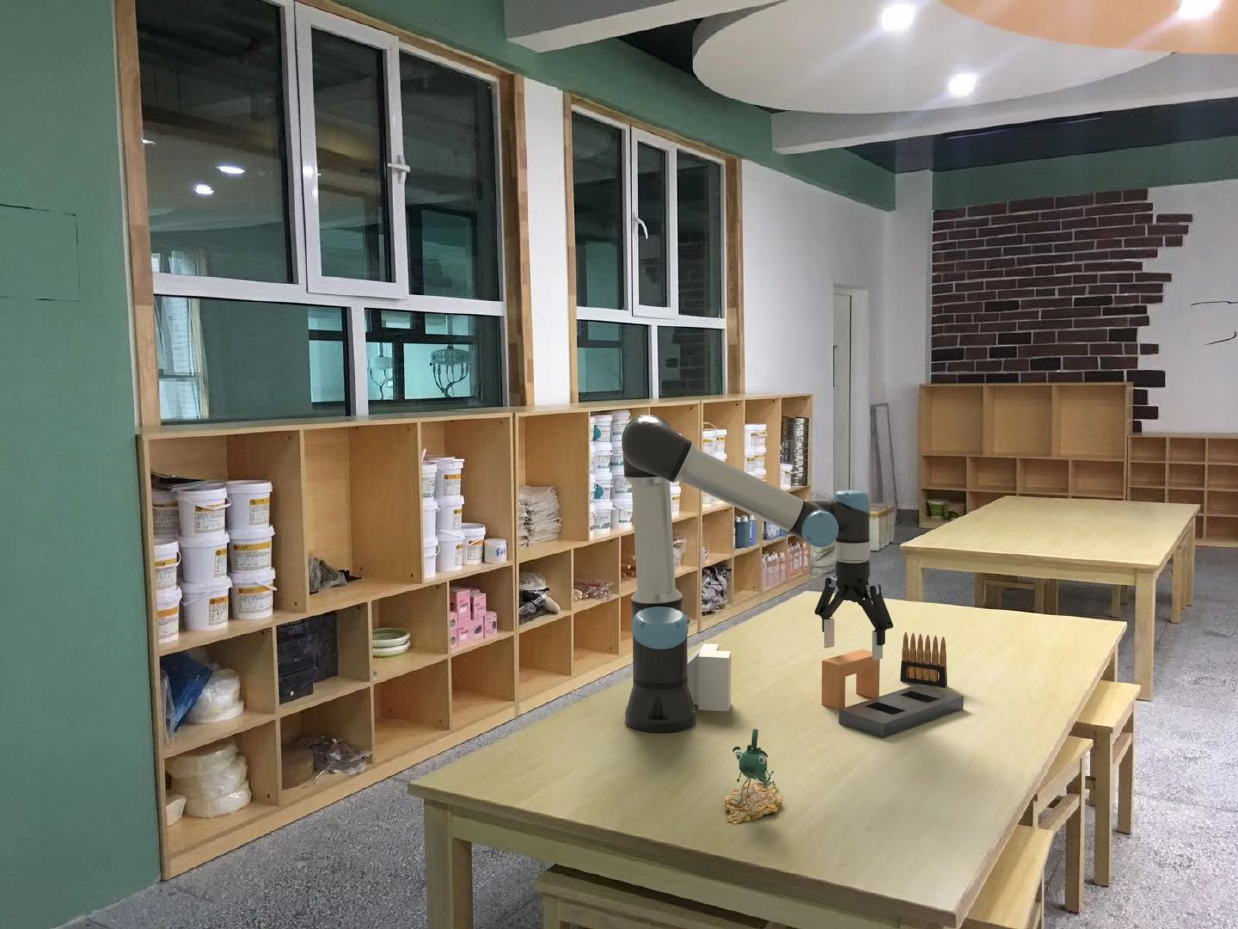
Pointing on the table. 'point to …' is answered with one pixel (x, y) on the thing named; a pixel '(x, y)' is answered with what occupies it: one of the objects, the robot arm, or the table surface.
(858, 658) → the clip
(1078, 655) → the table surface
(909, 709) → the gray slotted base board
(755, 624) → the table surface
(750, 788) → the green creature figurine
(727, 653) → the corner bracket
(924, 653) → the ammunition clip
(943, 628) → the table surface
